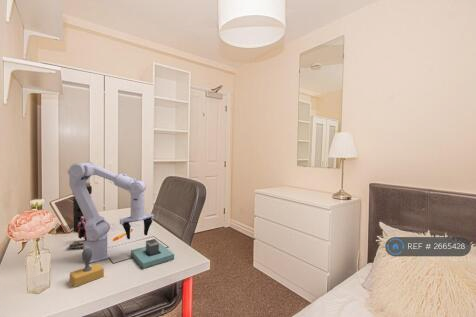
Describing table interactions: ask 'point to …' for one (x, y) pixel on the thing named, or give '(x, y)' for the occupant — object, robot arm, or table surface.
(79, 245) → the statue
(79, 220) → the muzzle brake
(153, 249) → the plug
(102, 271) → the rubber stamp
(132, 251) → the outlet block
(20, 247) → the table surface
